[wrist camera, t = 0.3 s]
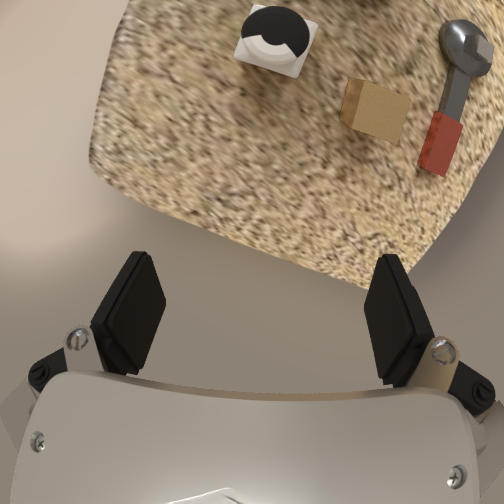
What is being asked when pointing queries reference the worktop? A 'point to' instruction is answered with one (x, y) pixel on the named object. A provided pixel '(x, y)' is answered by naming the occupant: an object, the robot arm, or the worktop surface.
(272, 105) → the worktop surface
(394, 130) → the wooden block
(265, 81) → the worktop surface
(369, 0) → the worktop surface
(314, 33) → the medicine bottle
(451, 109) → the ratchet
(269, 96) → the worktop surface
